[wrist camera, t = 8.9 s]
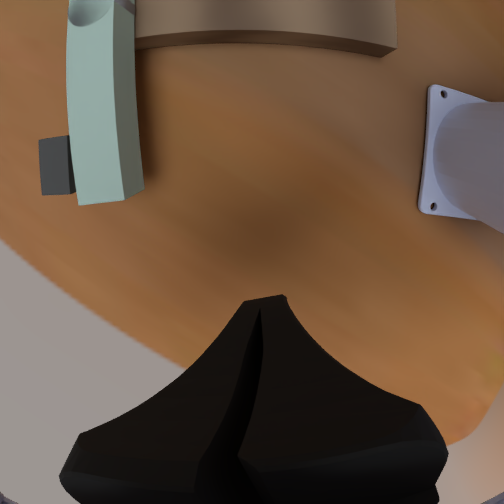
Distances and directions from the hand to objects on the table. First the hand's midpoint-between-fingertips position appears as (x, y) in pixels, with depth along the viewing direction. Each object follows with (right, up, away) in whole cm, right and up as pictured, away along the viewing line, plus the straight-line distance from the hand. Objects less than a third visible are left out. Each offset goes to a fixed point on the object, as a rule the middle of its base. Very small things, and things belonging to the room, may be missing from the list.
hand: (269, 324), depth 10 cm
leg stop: (-10, +8, +7) cm, 15 cm away
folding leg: (-8, +10, +3) cm, 13 cm away
